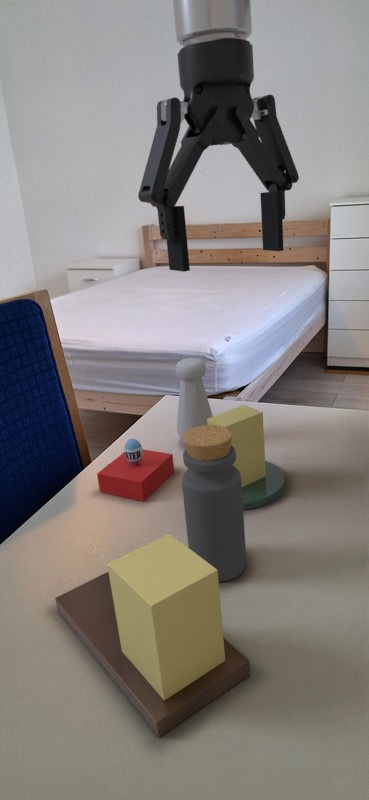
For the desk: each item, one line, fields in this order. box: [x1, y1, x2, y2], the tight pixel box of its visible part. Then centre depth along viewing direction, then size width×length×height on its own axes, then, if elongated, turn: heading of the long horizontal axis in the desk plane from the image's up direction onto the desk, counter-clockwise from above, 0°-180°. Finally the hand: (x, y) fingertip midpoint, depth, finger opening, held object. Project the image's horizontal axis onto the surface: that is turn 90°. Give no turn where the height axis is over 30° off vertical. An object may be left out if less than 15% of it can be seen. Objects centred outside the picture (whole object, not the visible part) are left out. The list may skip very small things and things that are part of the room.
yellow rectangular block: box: [207, 404, 266, 487], centre depth 75 cm, size 6×4×9 cm, turn 126°
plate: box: [242, 460, 286, 511], centre depth 77 cm, size 12×12×1 cm
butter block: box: [107, 533, 225, 700], centre depth 48 cm, size 6×6×9 cm
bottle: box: [181, 425, 247, 583], centre depth 60 cm, size 6×6×15 cm
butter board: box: [54, 571, 251, 738], centre depth 53 cm, size 9×18×2 cm, turn 36°
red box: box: [96, 438, 175, 502], centre depth 79 cm, size 8×7×6 cm
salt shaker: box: [175, 357, 214, 445], centre depth 88 cm, size 6×6×13 cm
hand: (228, 260), depth 67 cm, fingers open, 13 cm apart
